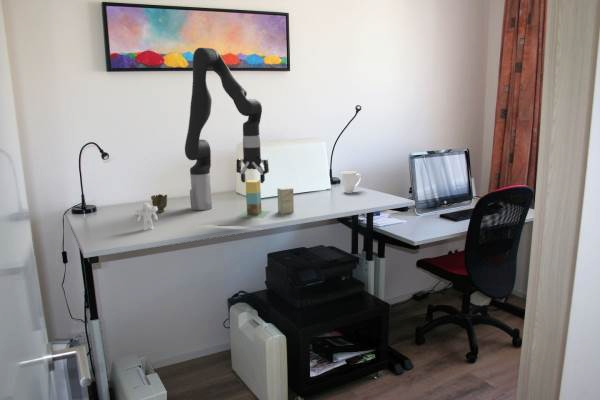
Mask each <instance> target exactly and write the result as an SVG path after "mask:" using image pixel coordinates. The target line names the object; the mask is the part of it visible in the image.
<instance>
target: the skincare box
mask: <svg viewBox="0 0 600 400" xmlns="http://www.w3.org/2000/svg"><path fill="white" fill-rule="evenodd" d="M294 206H295V204H294V188H293V187H291V186H290V187H289V186H288V187H280V188H279V187H277V212H278V213H279V214H281V215H284V214H290V213H294V212H295V211H294V210H295V209H294V208H295V207H294Z"/></svg>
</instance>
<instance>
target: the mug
mask: <svg viewBox="0 0 600 400" xmlns="http://www.w3.org/2000/svg"><path fill="white" fill-rule="evenodd" d="M340 176H341V177H340V178H341V180H340V182H341V186H342V188H343V191H344V193H345V194H353V193H354V191H355V189H356V187H357V186H359V184H360V183H361V182H362V175H361V174H360V173H357V171H355V170H344V171H343V170H342V171H341V174H340ZM357 176H359V180H357V179H358V177H357Z"/></svg>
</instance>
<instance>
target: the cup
mask: <svg viewBox="0 0 600 400" xmlns="http://www.w3.org/2000/svg"><path fill="white" fill-rule="evenodd" d="M150 199H151V200H153V201H151V200H150V201H151V203H152V208H153V207H154V206H156V207H157V208H158V211H156V213H164V212H165V208H166V207H167V205H168V194H164V195H163V194H162V193H159V194H155V195H154V194H153V195H152V196H151V195H150Z"/></svg>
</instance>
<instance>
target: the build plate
mask: <svg viewBox="0 0 600 400" xmlns="http://www.w3.org/2000/svg"><path fill="white" fill-rule="evenodd" d="M261 211H262V213H261V214H259V215H247V209H246V210H245V211H244V212H242V213H240V214H239V215H237V218H257V219H258V218H259V219H264V218H265V217H266V216H267V215H269V214H270V213H271V212H272V210H271V211H270V210H261Z"/></svg>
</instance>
